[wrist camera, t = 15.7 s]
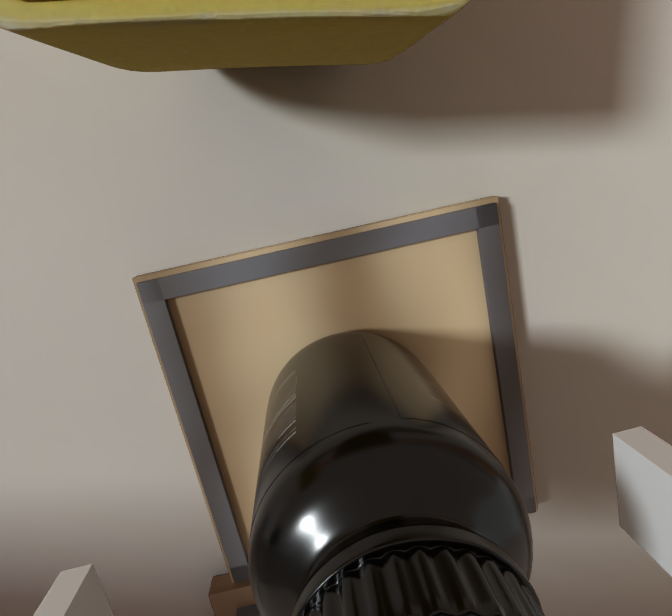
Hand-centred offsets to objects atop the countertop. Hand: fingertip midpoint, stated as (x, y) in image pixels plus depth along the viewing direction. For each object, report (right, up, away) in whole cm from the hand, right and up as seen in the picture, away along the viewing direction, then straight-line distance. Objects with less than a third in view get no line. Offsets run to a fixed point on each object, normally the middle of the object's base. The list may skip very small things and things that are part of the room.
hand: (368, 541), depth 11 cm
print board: (0, +2, +8) cm, 8 cm away
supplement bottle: (0, +2, +8) cm, 8 cm away
